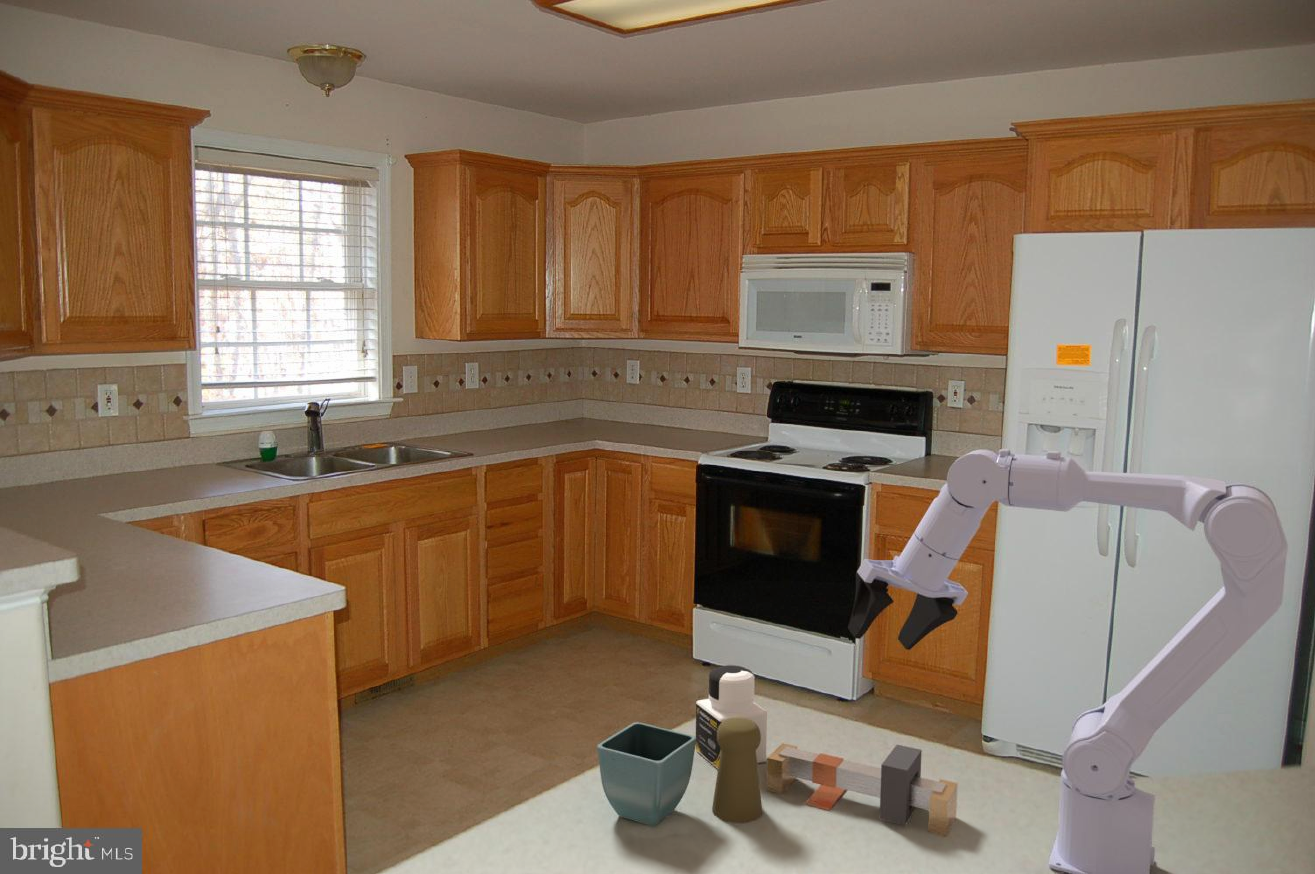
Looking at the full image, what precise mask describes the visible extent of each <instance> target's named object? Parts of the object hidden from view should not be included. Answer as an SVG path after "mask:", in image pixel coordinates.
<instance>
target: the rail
mask: <svg viewBox="0 0 1315 874" xmlns="http://www.w3.org/2000/svg"><path fill="white" fill-rule="evenodd" d="M796 779H801V780H804V781H809V782H811V783H813V784H816V785H819V786H818V787H817V789H816V790H815V791H814V792H813V793H812V795H811V796H810V797H809V798H808V799H807V800H806V802H805V805H807V806H811V807H814V808H818V809H822V810H826V811H830V810H832V808H833V806H834V805H835V804H836V802H837V801H838V800H839V799H840V798H841V797H842V795H843V794H844V793H845V791H849V792H853V793H858V794H862V795H867V796H869V797H875V798H878V799H880V792H881V767H878V766H877V767H876V766H872V765H868V764H865V763H864V764H863V763H859V762H856V761H850V760H847V759H844V758H843V757H839V756H838V757H837V756H833V755H829V754H825V753H821V752H820V753H816V752H812V751H809V750H808V751H807V750H802V749H798V746H797V745H792V744H789V743H784V742H782V743H781V744H780V745H779V746H778V747H777V748H776V749H775V750H774V751H772V752H771V753H770V755H768V757H766V791H768V792H774V793H776V794H779V795H782V794H783V793H784V792H785V791H786V790H787V789H788V788H789V787H790V786H791V784H792V783H793V782H794V781H795V780H796ZM957 800H958V782H955V781H950V780H946V779H939V781H938V780H933V779H929V778H924V777H916V776H914V777H913V779H912V780H911V782H910V793H909V805H910V806H914V807H916V808H918V809H922V810H926V811H928V833H933V834H935V835H936V834H937V835H940V836H944V837H947V836H948V834H949V832H950V830H951V828H952V826H953V824H954V823H955V820H956V818H957V808H958V807H957V804H958V803H957V802H958V801H957Z"/></svg>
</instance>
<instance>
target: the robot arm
mask: <svg viewBox="0 0 1315 874" xmlns="http://www.w3.org/2000/svg"><path fill="white" fill-rule="evenodd" d="M1061 455H1062V454H1061V451H1059V450H1048V451H1047V452H1046V453H1045V455H1035V454H1034V455H1032V454H1021V453H1020V454H1017V453H1011V449H1010V448H1009V449H1007V448H1001V449H999V450H998V454H997V453H996V452H994V451H991V450H989V449H977V450H973V451H970V452H968V453H966V454H964V455H962V456H961V457H959V458H957V459H956V460H955V461H954V462H953V463H952V464H951V466H950V467H949V469H948V470H947V471H948V472H947V475H946V483H945V484H944V485H943V486H942V487H941V489H940V490H939V494H938V495H937V497H935V498H933V501H932V502H931V503H930V505H929V506H928V509H927V510H926V512H925V513H924V515H923V517H922V519H921V520H920V522H919V523H918V525H917V526H916V529H915V530H914V532H913V534H912V535H911V537H910V539H909V540H908V542H907V543H906V545H905V547H904V548H903V550H902V552H901V553H900V555H899V556H898V555H895V556H894V558H893V560H889V559H888V560H887V559H885V560H883V559H882V560H877V559H875V560H874V559H868V558H864V559H863V561H862V563H861V564H860V566H859V567H858V569H857V570H856V573H855V597H854V603H853V608H852V612H851V615H850V619H849V623H848V626H847V629H848V630H849V632H850V633H851V635H852V636H853V637H854V639H858V640H860V639H862V638H863V637H864V635H865V634H866V633H867V631H868V630H869V628H870V627H871V626H872V625H873V622H874V621H875V620H876V618H877V617H879V615H880V614H881V613H882V612H883V611H884V610H885V609H886V608H888V607H889V606H890V605H892V604H894V599H893V598H892V597H891V595H889V593H888V592H889V589H888V586H890V587H894V588H897V589H902V590H906V591H911V592H914V593H916V596H915V601H914V603H913V605H912V607H911V610H910V613H909V614H908V617H907V618H906V620H905V622H904V624H903V626H902V627H901V629H900V631H899V633H898V637H897V640H898V641H899V643H900V644H901V645H902V647H903V648H904V649H905V650H909V651H910V650H912V649H913V648H914V647H915V646H916V645H917V644H918V643H919V642H920V641H921V640H922V639H924V638H925V637H926V636H928V634H929V633H930V634H931V632H933V631H934V630H935V629H937V628H939V627H940V626H942V625H944V624H945V623H948V622H951V621H953V620H954V619H955V618H956V617H957V615H958V613H959V612H958V610H957V609H956V608H955V607H954V606H953V605H956V606H959V607H960V606H962V604H963V603H964V601H965V599H967V596H968V594H969V592H968V590H966V589H965V588H964V587H963V586H962V584H961V583H959V582H957V581H956V582H955V581H953V580H950V579H948V578H949V576H950V575H951V573H952V571H953V570H954V568H955V567H956V565H957V563H959V561H960V559H961V557H962V556H963V554H964V552H965V551H966V550H967V548H968V546H969V545H970V542H971V541H972V540H973V537H974V536H975V535H976V533H977V532H978V530H979V528H981V524H982V520H983V518H984V517H985V515H986V514H987V512H988V510H989V509H990V507H991V506H992V504H993V503H994V502H998V503H1000V504H1002V505H1003V506H1006V507H1013V508H1025V509H1032V510H1033V509H1034V510H1035V509H1036V510H1042V511H1043V510H1045V511H1047V510H1048V511H1053V512H1055V511H1056V512H1067V513H1068V512H1069V511H1071V510H1072V509H1073V508H1074V507H1076V506H1077V505H1079V503H1081V502H1088V503H1096V504H1102V505H1103V504H1104V505H1110V506H1117V507H1119V506H1120V507H1129V508H1136V509H1142V510H1143V509H1145V510H1152V511H1159V512H1164V513H1167V514H1168V515H1170V516H1171V517H1172V518H1174V519H1175V520H1176V521H1178V522H1179V523H1181V524H1182V525H1183V526H1184V527H1186V528H1187V529H1189V530H1191V531H1192V532H1194V530H1195V529H1196V526H1197V525H1198V523H1199V522H1200V523H1203V529H1204V530H1203V531H1204V532H1203V533H1204V536H1205V539H1206V541H1207V542H1208V544H1209V546H1210V548H1211V550H1212V552H1213V553H1214V555H1215V556H1216V558H1217V560H1218V561H1219V563H1220V564H1219V565H1220V571H1221V576H1222V581H1223V586H1222V587H1221V588H1220V589H1219V590H1218V591H1217V592H1216V593H1215V594H1214V595H1213V596H1212V597H1211V598H1210V599H1209V600H1208V602H1206V604H1205V605H1204V606H1203V607H1201V609H1200V610H1199V611H1198V612H1197V613H1196V614H1195V615H1194V616H1193V617H1192V618H1191V619H1190V620H1189V621H1188V622H1187V623H1186V625H1184V626H1183V627H1182V628H1181V629H1180V630H1179V632H1178V633H1176V634H1175V635H1174V637H1173V638H1172V639H1171V640H1170V641H1168V643H1167V644H1165V646H1164V647H1163V648H1162V649H1161V650H1160V651H1159V652H1158V653H1157V654H1156V655H1155V656H1154V657H1153V658H1152V659H1151V660H1150V661H1149V662H1148V664H1147V665H1145V666H1144V667H1143V668H1142V670H1141V671H1140V672H1138V673H1137V675H1135V677H1134V678H1133V679H1131V681H1130V682H1129V683H1128V684H1127V685H1126V686H1125V687H1124V688H1123V689H1122V690H1121V691H1119V692H1117V693H1116V694H1114V695H1112V696H1111V697H1109V699H1107V700H1106V701H1105V702H1104V703H1103V704H1102V705H1101V706H1099V707H1096V708H1092V709H1089V710H1086V711H1085V712H1083V713H1081V714H1079V716H1078V717H1076V719H1075V721H1074V723H1073V725H1072V728H1071V729H1072V730H1071V736H1070V738H1069V741H1068V744H1067V746H1066V747H1065V749H1064V751H1063V754H1062V759H1061V760H1062V763H1061V764H1062V770H1061V771H1060V788H1059V791H1060V792H1059V806H1058V807H1059V808H1058V825H1057V834H1056V837H1055V839H1054V840H1055V841H1054V844H1053V847H1052V850H1051V854H1050V856H1049V860H1048V867H1049V868H1050V869H1053V870H1056V871H1061V872H1064V873H1069V874H1150V871H1151V866H1154V865H1155V856H1156V847H1155V846H1153V835H1154V818H1155V817H1154V816H1155V804H1156V803H1155V802H1156V794H1153V793H1150V792H1147V791H1144V790H1142V789H1139V788H1137V787H1136V784H1135V783H1136V782H1135V781H1134V779H1132V776H1131V775H1130V771H1131V769H1132V768H1131V767H1132V765H1134V763H1135V762H1136V760H1138V759H1139V757H1140V756H1141V755H1142V754H1143V752H1144V751H1145V750H1146V748H1147V746H1148V745H1149V743H1150V741H1151V740H1152V739H1153V737H1154V735H1155V733H1156V732H1157V731H1158V730H1159V729H1160V728H1161V727H1162V726H1163V725H1165V723H1166V722H1167V721H1168V720H1169V719H1170V718H1171V717H1172V716H1173V715H1174V714H1175V713H1177V711H1178V710H1179V709H1180V708H1181V707H1183V705H1184V704H1185V703H1187V701H1188V700H1190V699H1191V698H1192V696H1193V695H1195V694H1196V693H1197V691H1198V690H1199V689H1200V688H1202V686H1204V684H1205V683H1207V681H1209V680H1210V679H1211V678H1212V676H1213V675H1214V674H1215V673H1217V672H1218V670H1220V668H1221V667H1223V666H1224V665H1225V664H1226V663H1227V662H1228V661H1229V660H1230V659H1231V658H1232V657H1233V656H1234V655H1235V654H1236V653H1237V652H1238V651H1239V650H1240V649H1241V648H1242V647H1243V646H1244V645H1245V644H1246V643H1247V642H1248V641H1249V640H1250V639H1251V638H1252V637H1253V636H1254V635H1255V634H1257V632H1258V631H1259V630H1260V629H1261V628H1262V627H1263V626H1264V625H1265V624H1266V623H1267V622H1268V621H1270V619H1271V618H1272V617H1273V616H1274V615H1275V614H1276V613H1278V611H1279V609H1280V607H1281V606H1282V604H1283V599H1284V597H1283V596H1284V589H1285V587H1284V586H1285V575H1286V566H1287V565H1286V564H1287V555H1288V551H1289V545H1288V541H1287V538H1286V535H1285V531H1284V528H1283V526H1282V525H1283V524H1282V522H1281V520H1280V517H1279V515H1278V512H1277V510H1276V509H1277V508H1276V506H1275V504H1274V502H1273V500H1272V499H1271V497H1270V495H1268V494H1267V493H1266V492H1265V491H1264V490H1262V489H1260V488H1259V487H1257V486H1255V485H1252V484H1249V483H1248V484H1247V483H1237V482H1236V483H1231V484H1227V483H1226V481H1225V480H1220V479H1215V478H1209V477H1200V476H1192V475H1182V474H1180V475H1179V474H1162V473H1161V474H1159V473H1157V474H1156V473H1136V472H1135V473H1132V472H1113V471H1112V472H1111V471H1110V472H1109V471H1089V470H1084V469H1083V468H1082V467H1081V466H1080V465H1079V464H1078V463H1077V462H1076V461H1075V460H1074V459H1073V458H1071V457H1063V456H1061Z"/></svg>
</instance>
